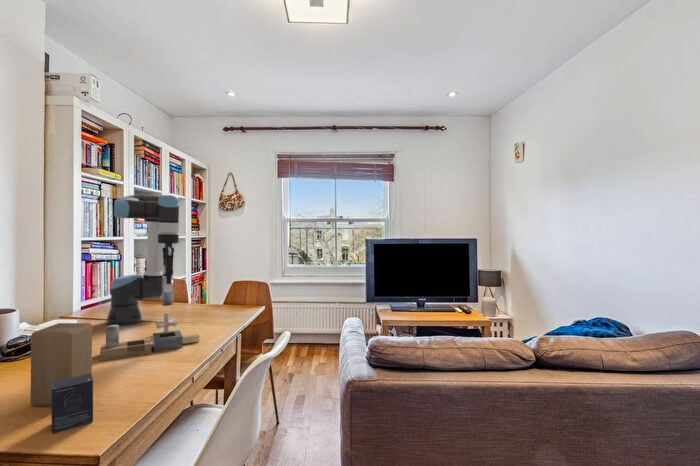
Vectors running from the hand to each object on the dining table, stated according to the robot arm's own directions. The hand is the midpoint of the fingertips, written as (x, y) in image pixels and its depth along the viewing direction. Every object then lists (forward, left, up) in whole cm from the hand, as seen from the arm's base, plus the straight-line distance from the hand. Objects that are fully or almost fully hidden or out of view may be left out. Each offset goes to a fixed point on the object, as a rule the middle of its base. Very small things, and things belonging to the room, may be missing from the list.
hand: (167, 290), depth 141 cm
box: (+51, -25, -23) cm, 61 cm away
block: (+34, -29, -23) cm, 50 cm away
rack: (+2, -15, -23) cm, 27 cm away
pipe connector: (-17, +1, -23) cm, 28 cm away
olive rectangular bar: (0, +8, -22) cm, 24 cm away
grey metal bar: (0, 0, -6) cm, 6 cm away
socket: (0, 0, -23) cm, 23 cm away
